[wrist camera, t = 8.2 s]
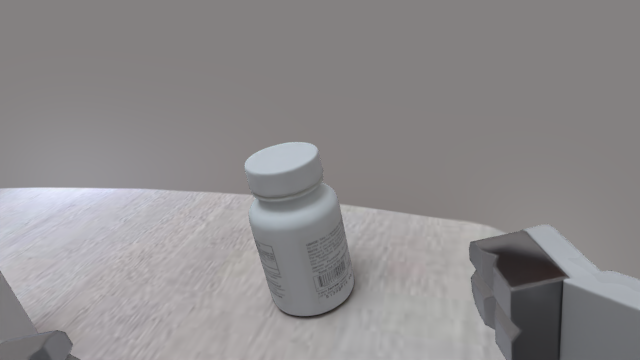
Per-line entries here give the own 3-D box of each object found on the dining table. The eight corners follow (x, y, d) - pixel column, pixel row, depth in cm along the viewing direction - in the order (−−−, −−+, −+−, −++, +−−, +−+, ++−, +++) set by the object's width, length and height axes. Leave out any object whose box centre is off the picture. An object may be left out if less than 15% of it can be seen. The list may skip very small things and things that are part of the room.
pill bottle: (357, 260, 25) (333, 131, 22) (352, 317, 22) (321, 172, 18) (282, 266, 26) (247, 143, 23) (264, 321, 23) (219, 183, 19)
